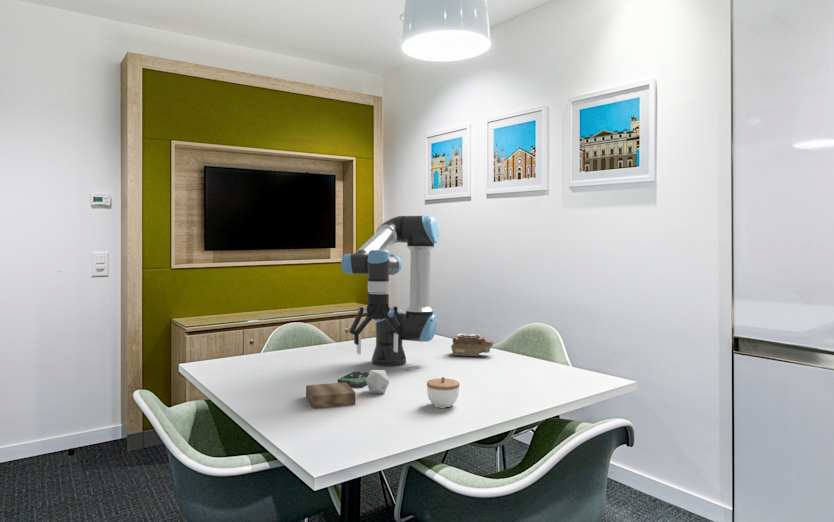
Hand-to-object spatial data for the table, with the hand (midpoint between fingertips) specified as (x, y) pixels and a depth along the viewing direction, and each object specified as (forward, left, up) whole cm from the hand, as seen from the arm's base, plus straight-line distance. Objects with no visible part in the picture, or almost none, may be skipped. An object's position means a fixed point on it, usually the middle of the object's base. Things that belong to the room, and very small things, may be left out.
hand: (377, 352), depth 200 cm
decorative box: (-61, -48, -15) cm, 79 cm away
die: (0, 0, -15) cm, 14 cm away
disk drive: (+3, -16, -15) cm, 22 cm away
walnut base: (+18, +5, -14) cm, 23 cm away
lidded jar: (-16, +22, -15) cm, 31 cm away
